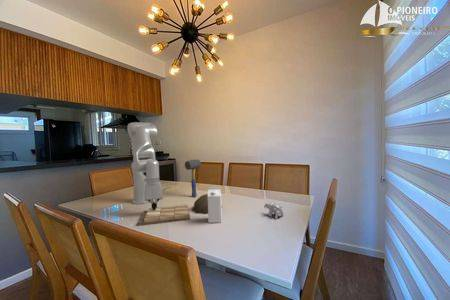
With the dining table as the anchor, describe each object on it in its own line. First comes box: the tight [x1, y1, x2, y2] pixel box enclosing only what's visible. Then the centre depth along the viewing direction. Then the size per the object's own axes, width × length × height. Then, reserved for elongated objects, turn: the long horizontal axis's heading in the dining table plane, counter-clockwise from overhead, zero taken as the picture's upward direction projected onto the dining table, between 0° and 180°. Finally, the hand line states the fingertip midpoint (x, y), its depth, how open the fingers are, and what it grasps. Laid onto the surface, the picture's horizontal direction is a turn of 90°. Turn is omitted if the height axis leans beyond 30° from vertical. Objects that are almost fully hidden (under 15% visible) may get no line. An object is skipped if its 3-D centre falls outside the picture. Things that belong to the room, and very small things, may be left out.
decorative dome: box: [192, 193, 208, 215], centre depth 138 cm, size 19×20×10 cm
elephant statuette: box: [263, 201, 284, 220], centre depth 122 cm, size 9×12×8 cm
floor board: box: [137, 204, 191, 227], centre depth 127 cm, size 20×28×3 cm
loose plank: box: [146, 206, 162, 216], centre depth 128 cm, size 13×8×2 cm, turn 13°
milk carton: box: [207, 186, 223, 224], centre depth 118 cm, size 7×7×19 cm
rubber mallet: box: [184, 159, 202, 198], centre depth 166 cm, size 12×8×30 cm, turn 143°
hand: (154, 209), depth 130 cm, fingers closed
